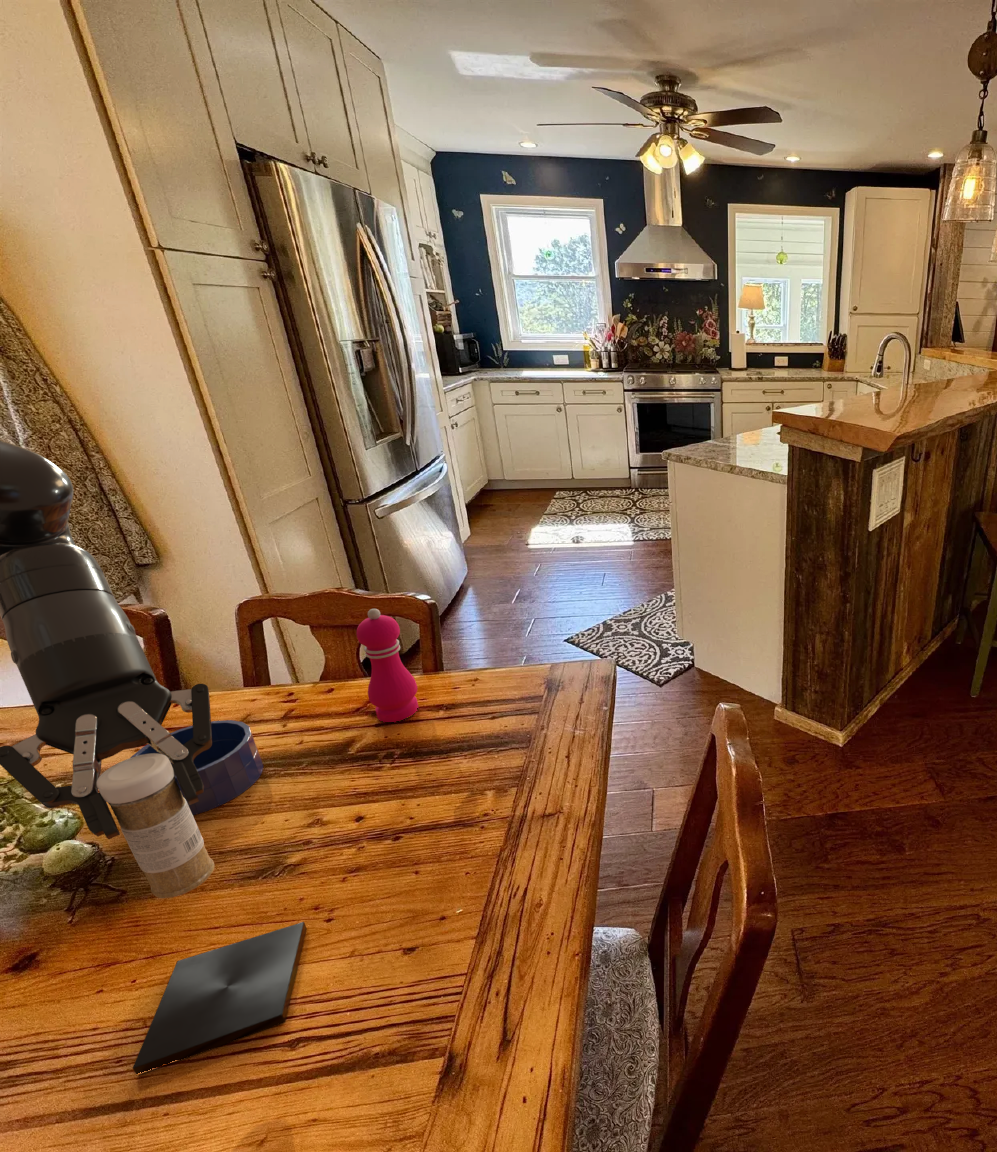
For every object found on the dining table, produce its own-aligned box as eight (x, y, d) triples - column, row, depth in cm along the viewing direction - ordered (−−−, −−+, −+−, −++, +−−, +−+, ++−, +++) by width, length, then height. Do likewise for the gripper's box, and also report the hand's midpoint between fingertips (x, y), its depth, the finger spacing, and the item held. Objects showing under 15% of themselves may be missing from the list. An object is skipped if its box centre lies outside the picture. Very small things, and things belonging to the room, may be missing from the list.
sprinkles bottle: (182, 860, 60) (131, 750, 55) (228, 861, 60) (182, 751, 55) (138, 900, 56) (78, 785, 51) (187, 902, 56) (133, 787, 51)
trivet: (136, 1076, 55) (131, 1068, 55) (180, 968, 64) (176, 960, 64) (285, 1022, 60) (282, 1014, 59) (307, 928, 69) (304, 921, 68)
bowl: (123, 831, 81) (104, 793, 78) (162, 768, 92) (147, 733, 89) (250, 801, 86) (236, 765, 84) (272, 745, 97) (260, 711, 95)
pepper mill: (393, 698, 110) (368, 598, 102) (430, 702, 109) (408, 601, 101) (364, 722, 103) (334, 617, 96) (403, 727, 102) (377, 621, 95)
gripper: (186, 639, 63) (255, 784, 61) (-30, 698, 53) (43, 875, 51) (180, 609, 58) (255, 766, 56) (-61, 667, 48) (19, 863, 46)
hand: (153, 817), depth 53 cm, fingers closed on sprinkles bottle, 4 cm apart
